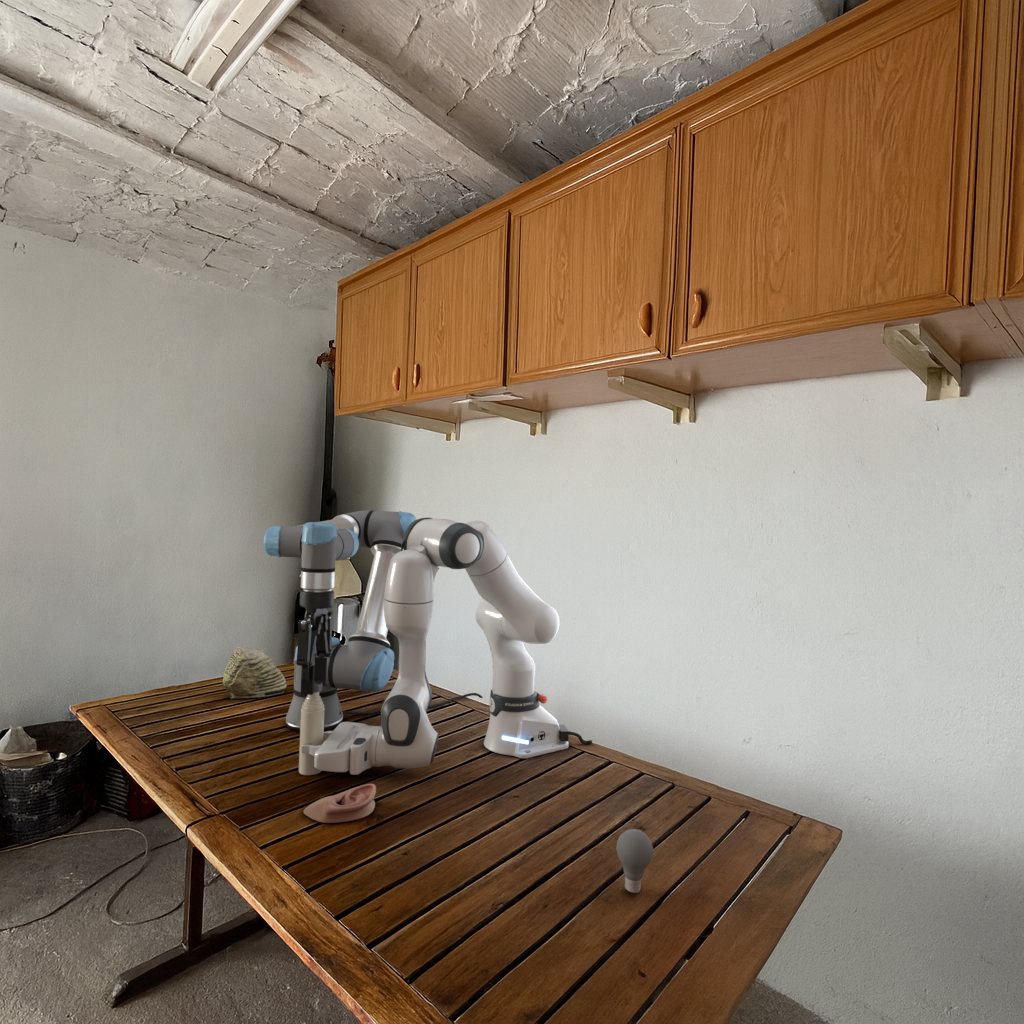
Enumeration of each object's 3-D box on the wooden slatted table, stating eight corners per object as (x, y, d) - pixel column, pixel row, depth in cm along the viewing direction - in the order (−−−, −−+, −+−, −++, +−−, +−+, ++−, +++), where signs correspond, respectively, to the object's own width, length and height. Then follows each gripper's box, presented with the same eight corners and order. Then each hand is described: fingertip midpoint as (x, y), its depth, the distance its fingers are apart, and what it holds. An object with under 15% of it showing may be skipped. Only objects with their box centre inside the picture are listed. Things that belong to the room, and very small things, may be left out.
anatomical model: (295, 798, 124) (324, 774, 135) (295, 818, 124) (324, 792, 135) (358, 808, 121) (383, 782, 132) (358, 828, 121) (382, 801, 133)
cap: (316, 686, 149) (316, 679, 149) (325, 690, 146) (325, 683, 146) (301, 690, 146) (301, 682, 146) (310, 693, 143) (311, 686, 143)
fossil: (218, 695, 195) (220, 647, 195) (278, 685, 208) (279, 640, 207) (228, 703, 189) (230, 653, 188) (289, 692, 201) (290, 645, 201)
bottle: (318, 763, 150) (321, 681, 150) (325, 772, 145) (328, 687, 145) (295, 768, 147) (299, 684, 147) (302, 777, 143) (305, 690, 142)
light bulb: (610, 879, 108) (613, 822, 108) (644, 879, 109) (647, 822, 109) (619, 902, 102) (622, 840, 102) (655, 901, 103) (658, 840, 103)
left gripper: (319, 583, 155) (315, 676, 156) (281, 594, 136) (277, 700, 137) (348, 585, 154) (345, 679, 155) (314, 596, 135) (310, 703, 136)
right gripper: (378, 716, 156) (322, 713, 156) (356, 749, 136) (292, 745, 136) (377, 742, 156) (321, 739, 157) (354, 778, 136) (291, 775, 136)
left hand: (313, 689), depth 146 cm, fingers open, 6 cm apart
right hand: (307, 742), depth 146 cm, fingers closed on bottle, 5 cm apart
